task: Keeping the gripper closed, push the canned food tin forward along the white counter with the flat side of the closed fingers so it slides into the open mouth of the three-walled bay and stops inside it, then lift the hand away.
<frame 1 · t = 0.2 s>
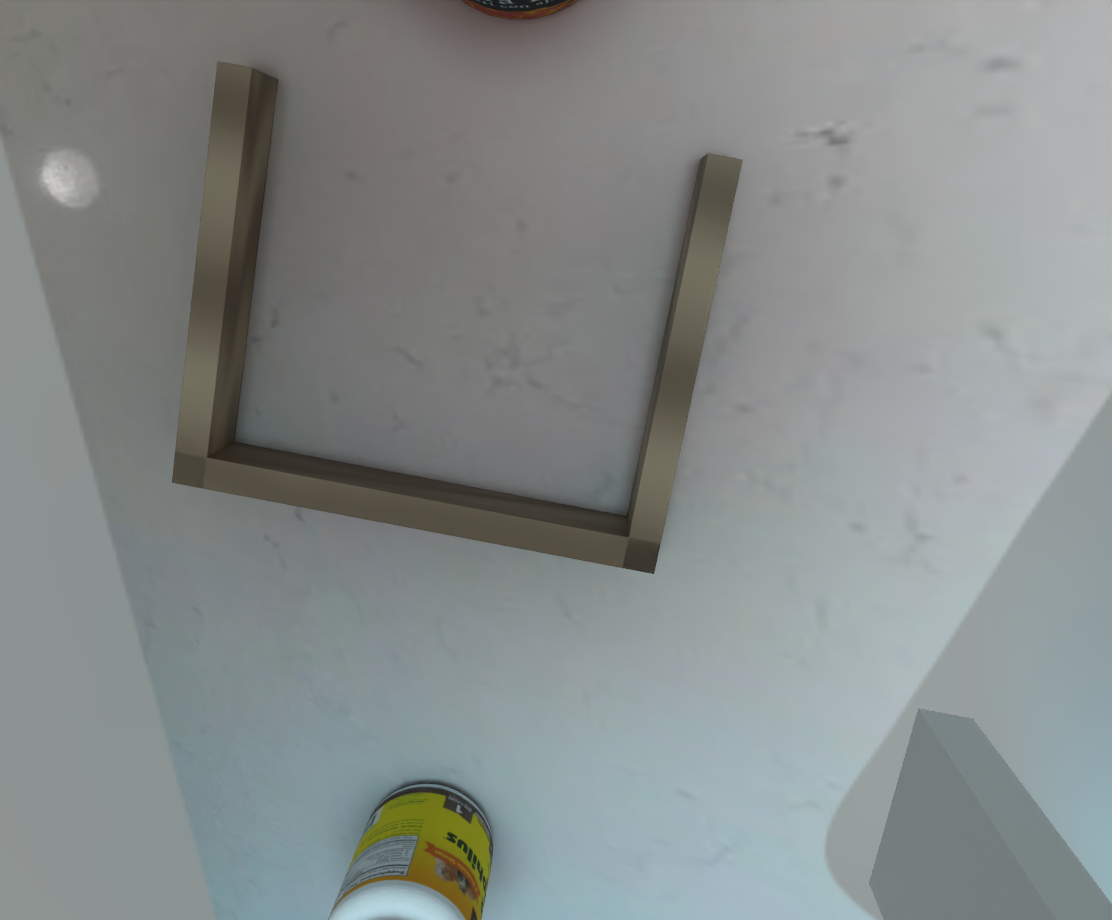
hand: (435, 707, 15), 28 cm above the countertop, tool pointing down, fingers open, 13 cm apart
supplement bottle: (431, 832, 46), on the countertop
bay: (452, 346, 41), on the countertop
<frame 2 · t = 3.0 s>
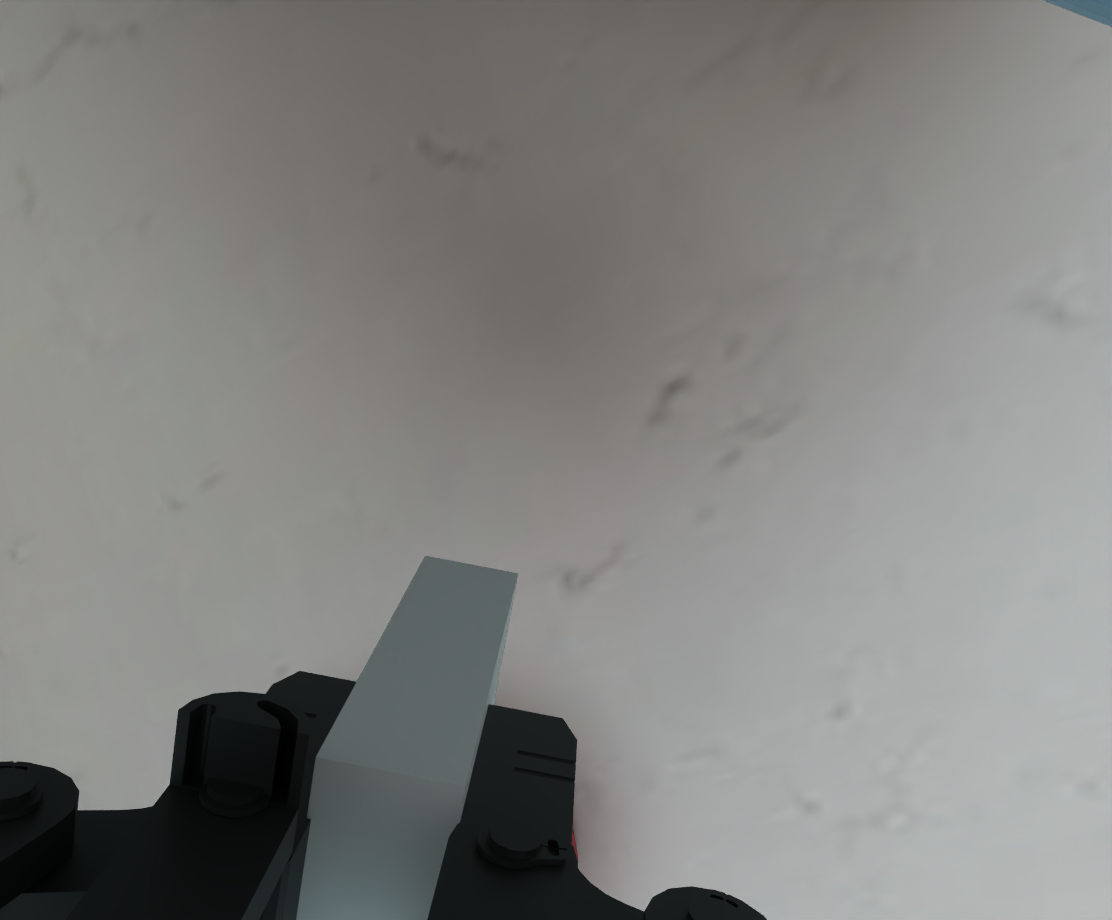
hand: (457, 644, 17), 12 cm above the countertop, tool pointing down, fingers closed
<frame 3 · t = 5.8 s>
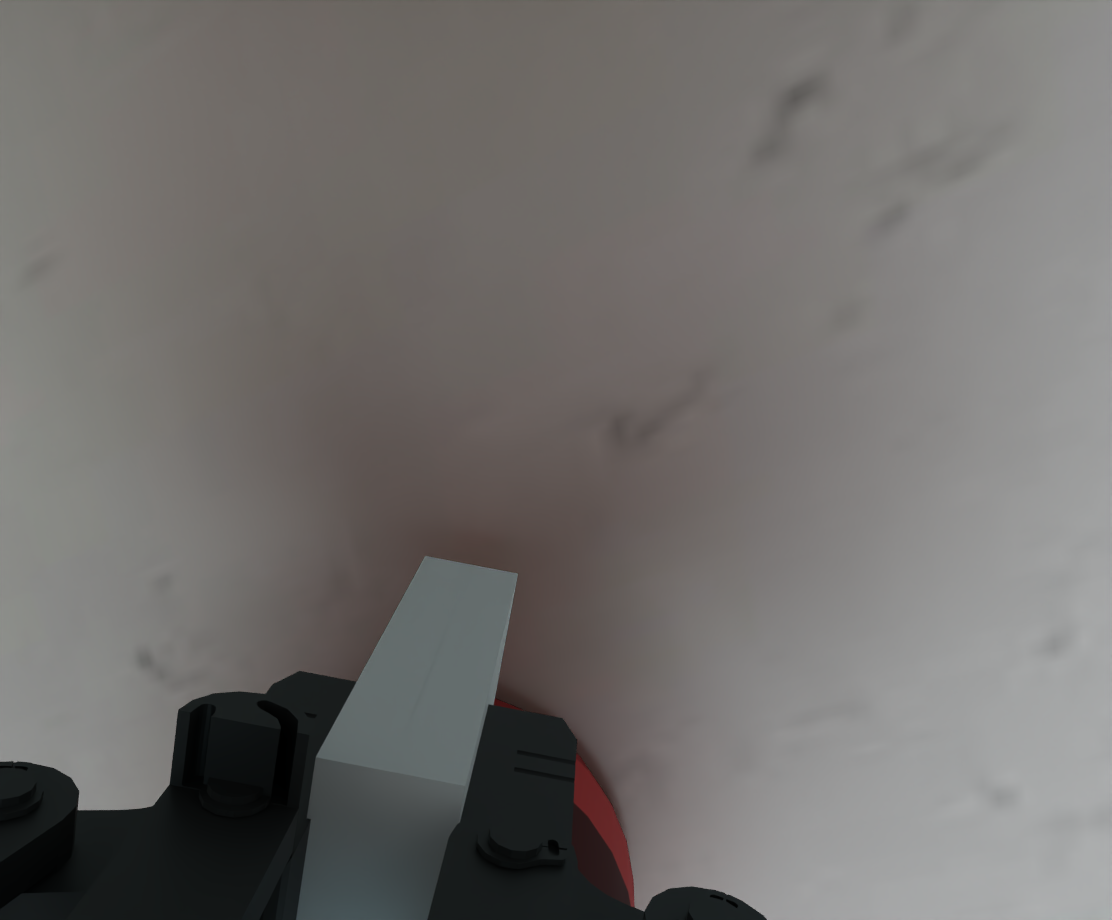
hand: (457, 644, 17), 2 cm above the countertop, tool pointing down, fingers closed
canned food: (434, 857, 21), on the countertop, touching gripper
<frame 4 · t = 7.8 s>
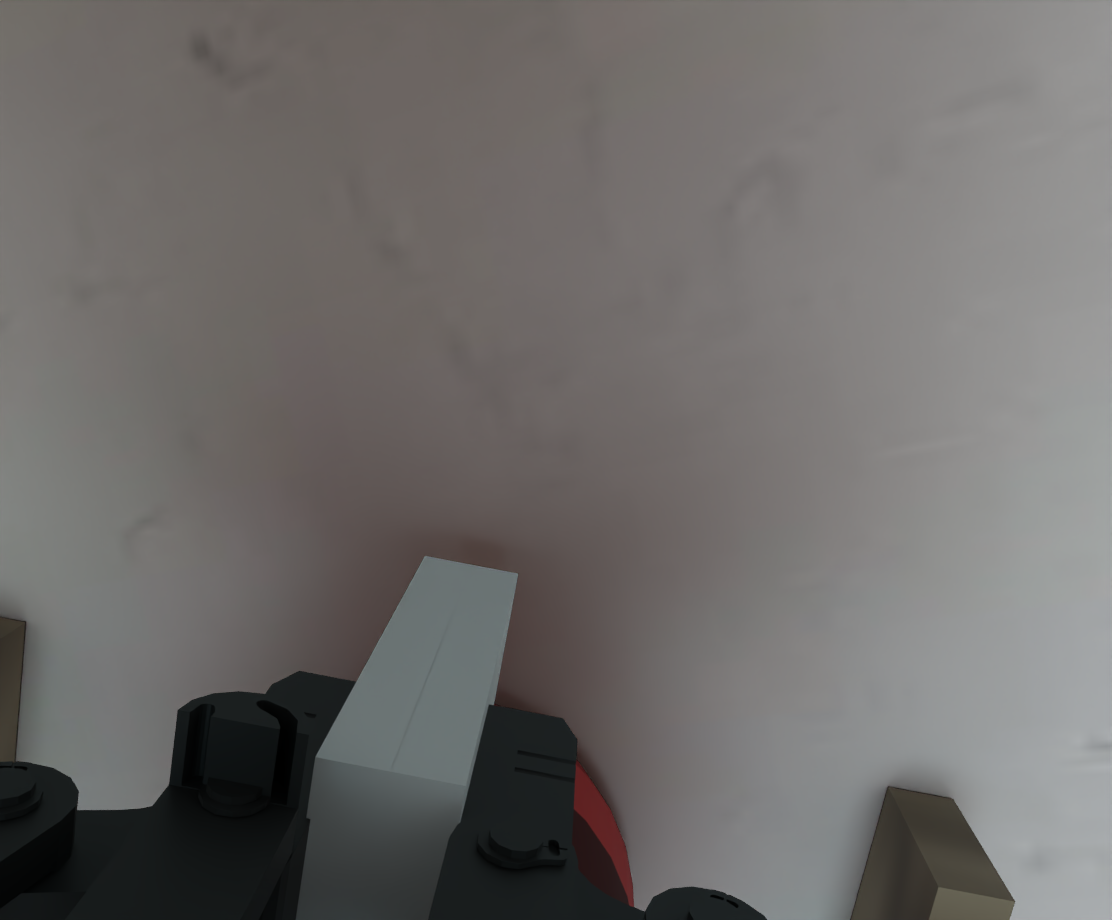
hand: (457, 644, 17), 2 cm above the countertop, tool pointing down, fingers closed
canned food: (431, 865, 20), on the countertop, touching gripper
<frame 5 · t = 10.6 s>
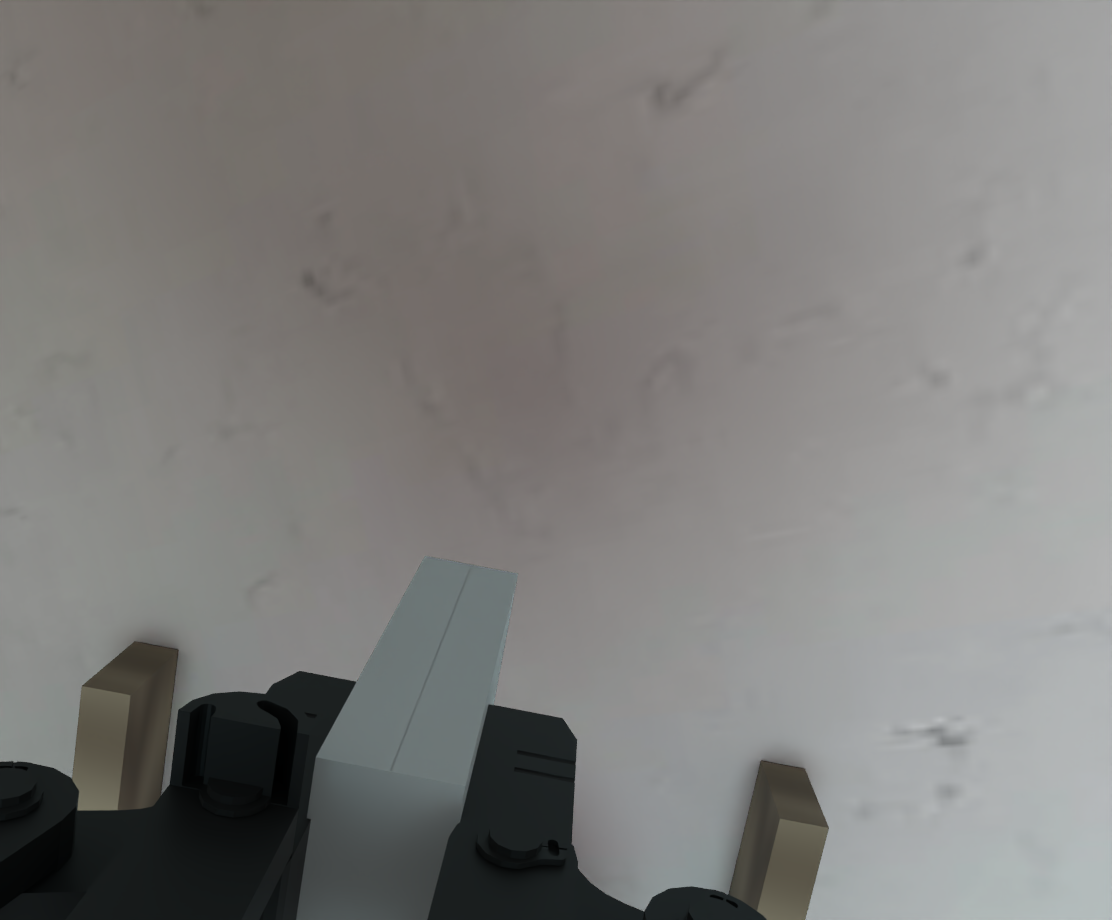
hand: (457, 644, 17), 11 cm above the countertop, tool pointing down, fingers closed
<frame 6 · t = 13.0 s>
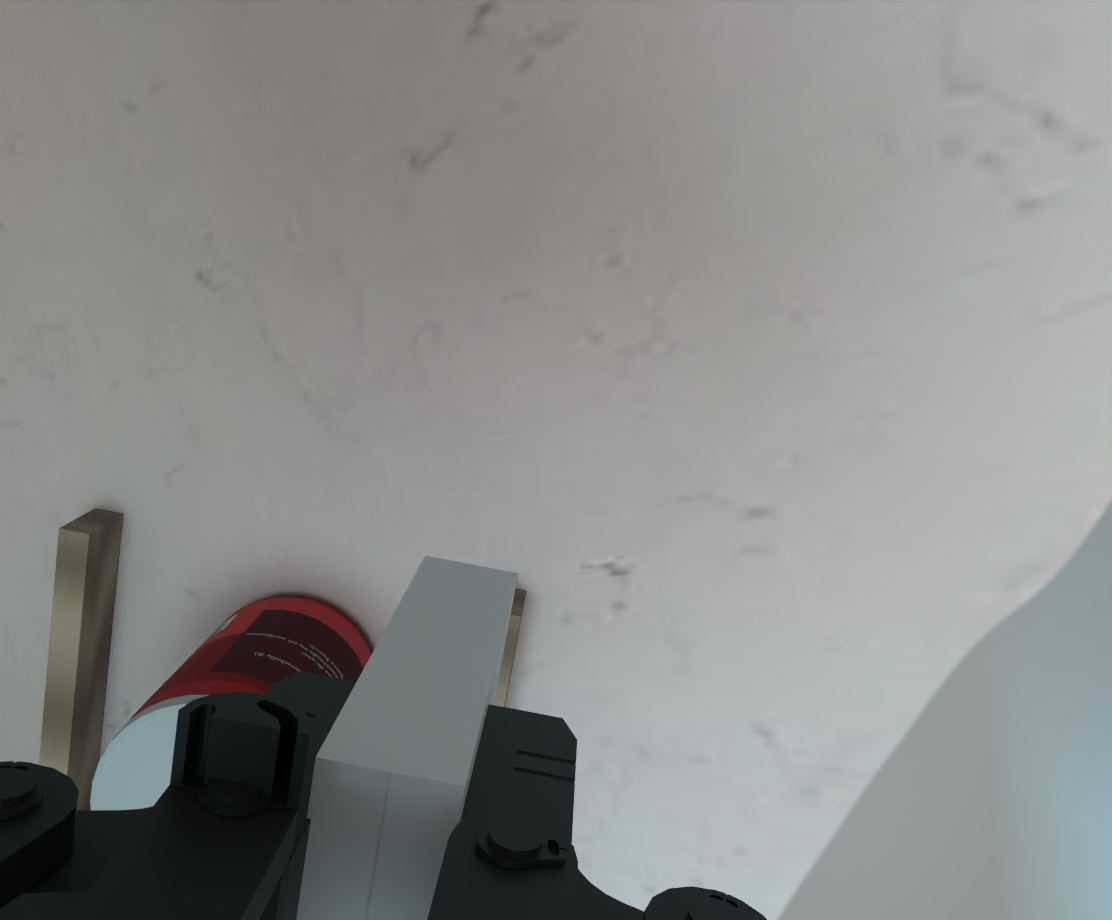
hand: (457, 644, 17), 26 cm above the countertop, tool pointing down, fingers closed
bay: (284, 735, 46), on the countertop
canned food: (296, 675, 46), on the countertop
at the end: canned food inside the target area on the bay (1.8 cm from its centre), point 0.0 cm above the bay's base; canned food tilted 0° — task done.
